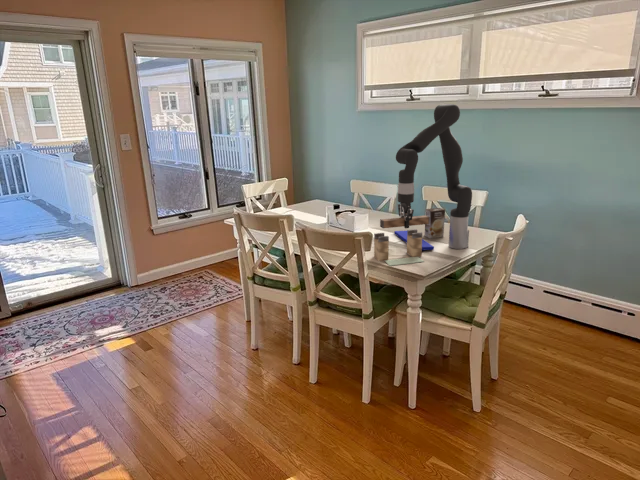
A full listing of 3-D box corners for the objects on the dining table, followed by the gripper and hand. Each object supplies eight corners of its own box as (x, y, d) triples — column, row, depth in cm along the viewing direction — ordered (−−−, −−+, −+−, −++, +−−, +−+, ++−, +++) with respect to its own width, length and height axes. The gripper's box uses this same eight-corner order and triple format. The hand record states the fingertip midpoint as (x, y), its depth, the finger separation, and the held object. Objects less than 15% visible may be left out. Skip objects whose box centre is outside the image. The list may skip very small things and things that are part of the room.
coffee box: (430, 238, 253) (431, 211, 249) (424, 235, 259) (425, 209, 254) (444, 236, 256) (445, 209, 251) (437, 233, 262) (439, 207, 257)
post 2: (415, 251, 233) (416, 229, 229) (421, 256, 227) (422, 232, 223) (406, 252, 232) (407, 230, 228) (412, 257, 226) (413, 233, 222)
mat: (417, 257, 225) (417, 256, 225) (424, 261, 219) (424, 261, 219) (384, 261, 221) (384, 260, 221) (389, 266, 215) (389, 265, 215)
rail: (426, 222, 219) (426, 214, 217) (429, 223, 215) (429, 216, 214) (380, 226, 214) (380, 219, 212) (382, 228, 210) (382, 221, 209)
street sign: (415, 253, 233) (433, 251, 234) (415, 247, 232) (434, 245, 234) (394, 234, 266) (410, 233, 267) (394, 229, 265) (410, 228, 266)
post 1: (383, 255, 229) (383, 232, 226) (388, 260, 223) (388, 236, 219) (374, 256, 228) (374, 233, 225) (379, 261, 222) (379, 237, 218)
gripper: (419, 194, 204) (418, 230, 209) (407, 188, 217) (406, 222, 222) (404, 195, 202) (403, 231, 207) (392, 189, 215) (392, 224, 220)
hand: (404, 226), depth 215 cm, fingers closed on rail, 3 cm apart
